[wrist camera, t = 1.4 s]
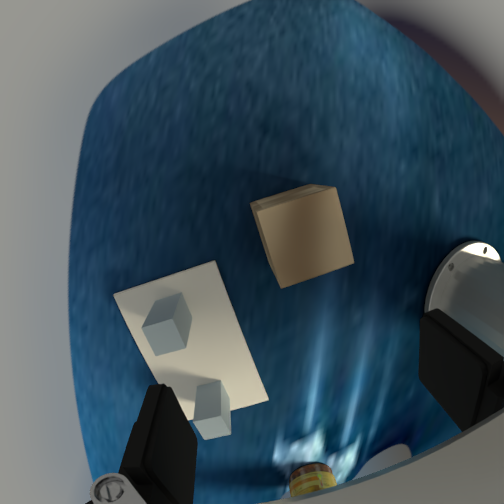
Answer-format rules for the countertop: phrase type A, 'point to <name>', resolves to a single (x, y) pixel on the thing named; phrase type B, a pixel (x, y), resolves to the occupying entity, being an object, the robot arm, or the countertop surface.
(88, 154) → the countertop surface
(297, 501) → the robot arm
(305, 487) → the sauce bottle
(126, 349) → the countertop surface
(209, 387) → the post stand
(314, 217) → the wood grain cube
